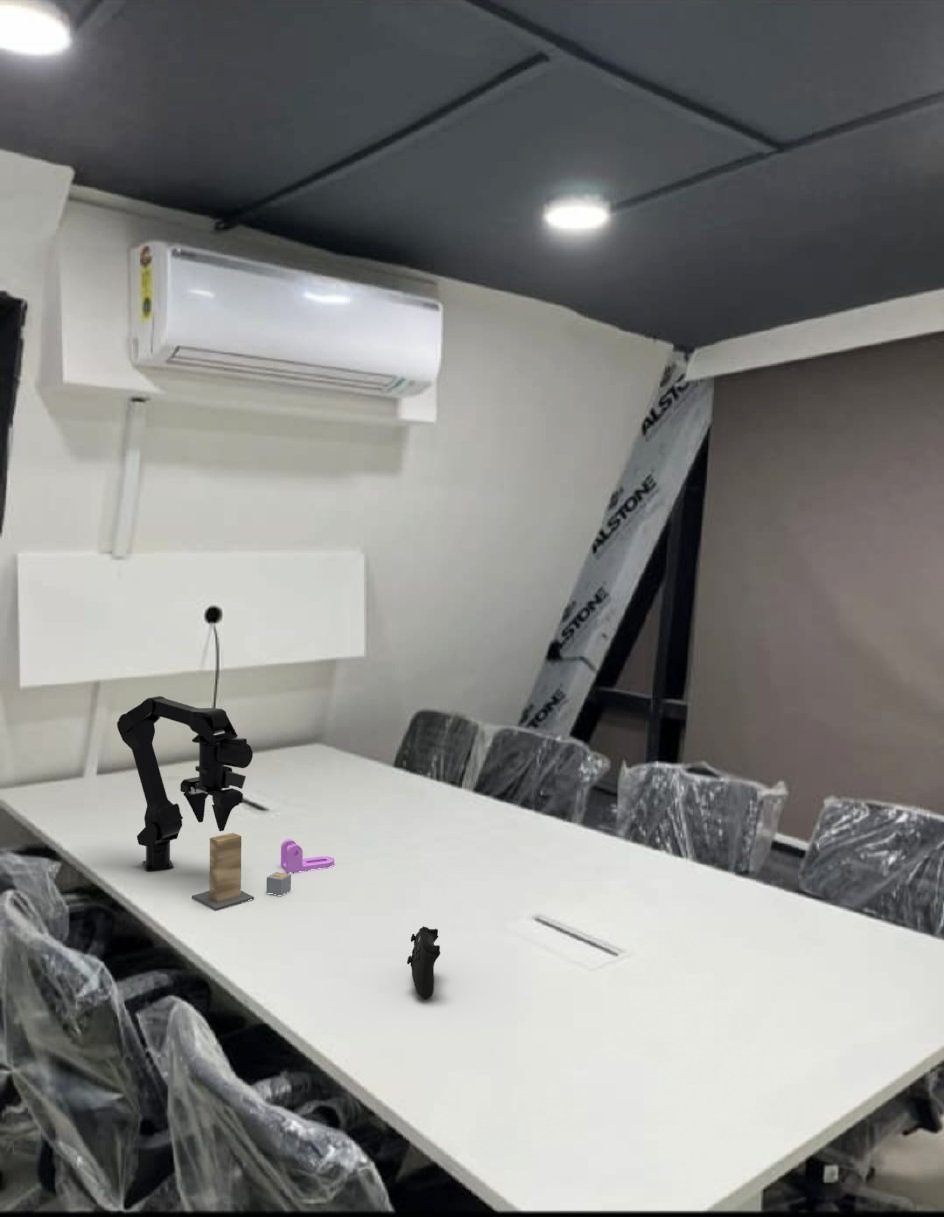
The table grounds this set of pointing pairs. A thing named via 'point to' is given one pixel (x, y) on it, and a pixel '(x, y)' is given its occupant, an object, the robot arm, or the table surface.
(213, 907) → the charcoal mat
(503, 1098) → the table surface
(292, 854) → the bracket
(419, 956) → the gaming controller
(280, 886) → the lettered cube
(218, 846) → the wooden block
